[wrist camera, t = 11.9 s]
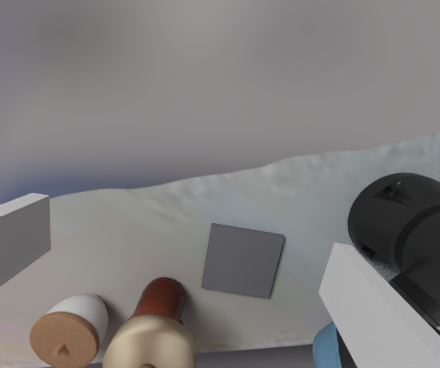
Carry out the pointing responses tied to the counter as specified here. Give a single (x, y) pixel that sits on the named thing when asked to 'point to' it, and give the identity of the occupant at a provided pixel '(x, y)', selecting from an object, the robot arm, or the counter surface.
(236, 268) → the mat
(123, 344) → the lid
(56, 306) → the lidded jar
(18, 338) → the counter surface
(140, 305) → the mug
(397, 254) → the robot arm
